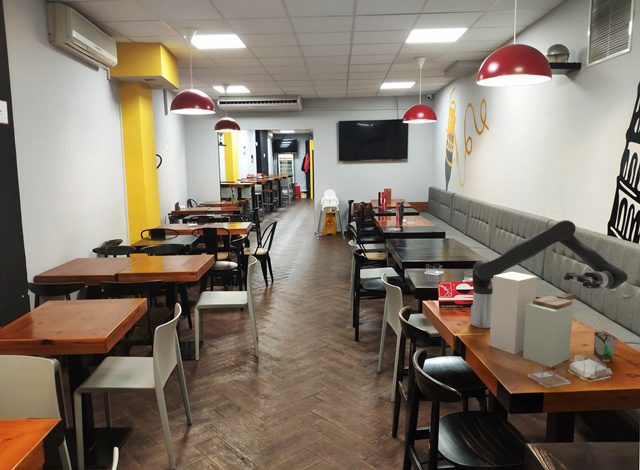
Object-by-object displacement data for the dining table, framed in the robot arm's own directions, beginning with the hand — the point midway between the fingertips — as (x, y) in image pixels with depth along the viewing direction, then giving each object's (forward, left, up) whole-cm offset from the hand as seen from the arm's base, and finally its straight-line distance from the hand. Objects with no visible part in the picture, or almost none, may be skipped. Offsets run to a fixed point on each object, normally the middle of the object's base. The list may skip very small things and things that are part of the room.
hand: (574, 280), depth 202 cm
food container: (+16, -2, -30) cm, 34 cm away
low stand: (+1, -21, -30) cm, 36 cm away
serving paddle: (+1, -12, -7) cm, 14 cm away
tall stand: (-15, -21, -30) cm, 39 cm away
